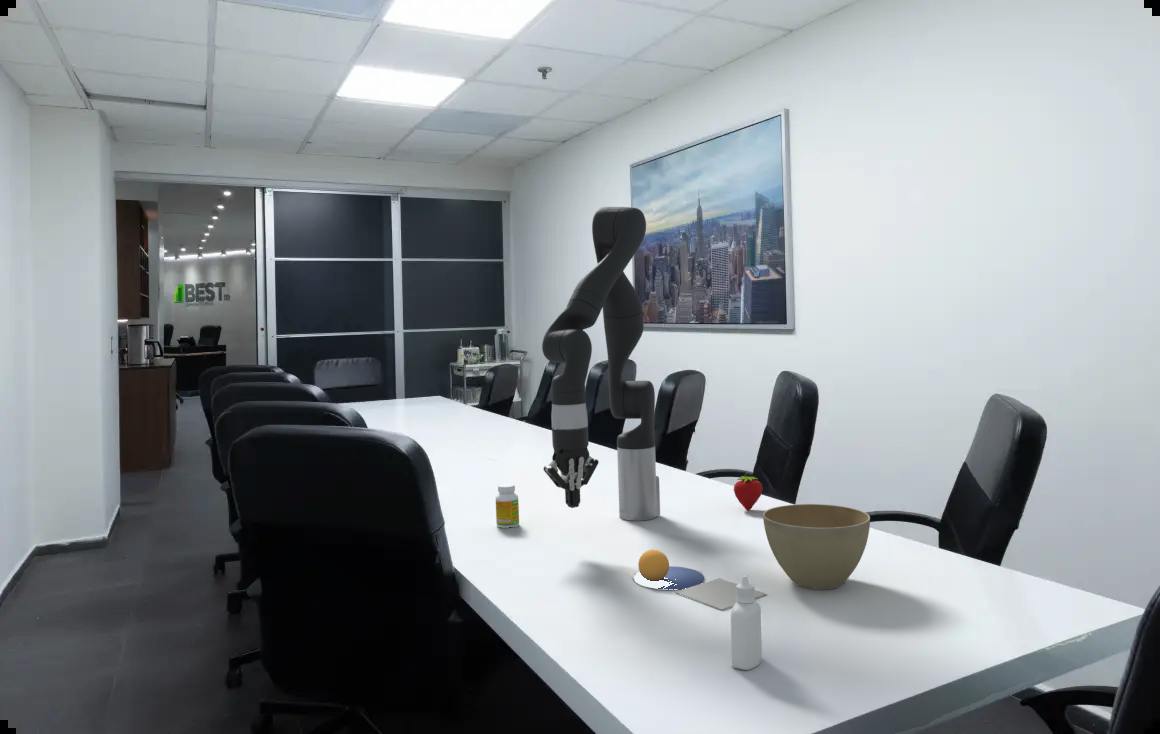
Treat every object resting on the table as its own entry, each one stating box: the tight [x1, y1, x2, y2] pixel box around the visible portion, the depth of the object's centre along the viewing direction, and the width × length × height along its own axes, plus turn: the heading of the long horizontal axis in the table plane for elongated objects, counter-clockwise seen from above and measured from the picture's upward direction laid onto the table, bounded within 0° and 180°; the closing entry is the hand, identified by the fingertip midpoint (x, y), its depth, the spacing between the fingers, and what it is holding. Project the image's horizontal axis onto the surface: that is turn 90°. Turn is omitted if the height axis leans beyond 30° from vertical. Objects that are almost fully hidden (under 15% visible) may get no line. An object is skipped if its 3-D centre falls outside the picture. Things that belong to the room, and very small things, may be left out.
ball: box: [637, 549, 670, 581], centre depth 140 cm, size 6×6×6 cm
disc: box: [658, 565, 705, 591], centre depth 141 cm, size 13×13×1 cm
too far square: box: [675, 577, 768, 611], centre depth 131 cm, size 11×11×1 cm
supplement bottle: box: [495, 483, 520, 529], centre depth 183 cm, size 5×5×10 cm
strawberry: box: [733, 472, 764, 511], centre depth 190 cm, size 6×8×10 cm
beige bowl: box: [762, 503, 871, 590], centre depth 136 cm, size 18×18×12 cm
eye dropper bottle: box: [730, 574, 763, 671], centre depth 104 cm, size 4×6×12 cm
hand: (573, 506), depth 161 cm, fingers closed
